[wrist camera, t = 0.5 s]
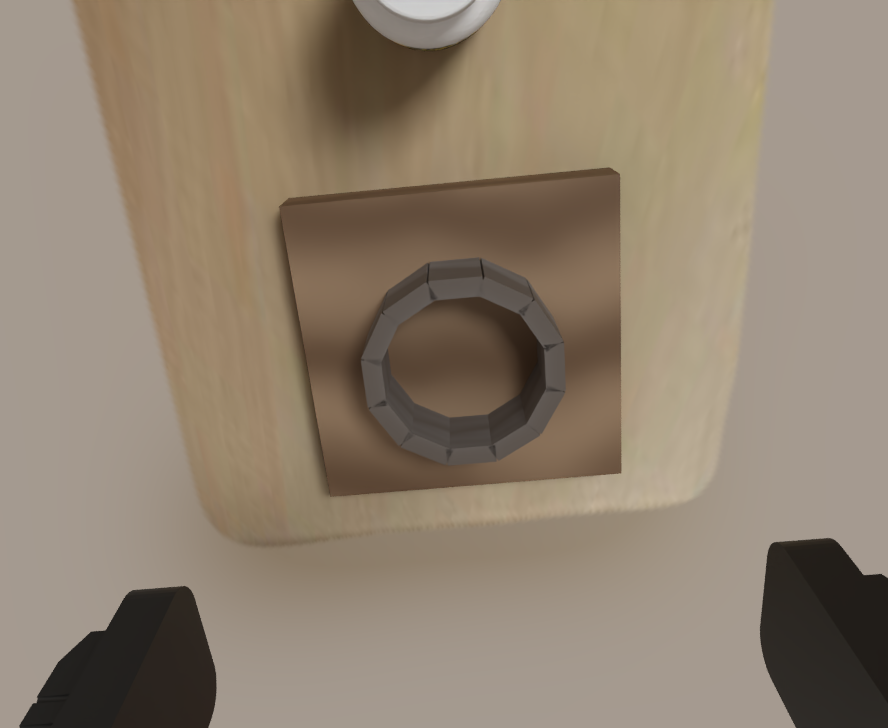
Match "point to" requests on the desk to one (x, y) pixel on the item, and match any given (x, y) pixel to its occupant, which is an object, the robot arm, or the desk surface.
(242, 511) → the desk surface
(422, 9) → the supplement bottle
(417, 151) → the desk surface
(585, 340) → the cup bracket
